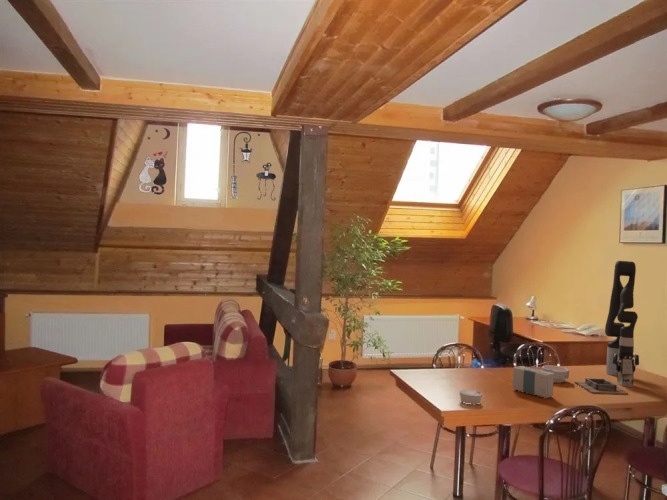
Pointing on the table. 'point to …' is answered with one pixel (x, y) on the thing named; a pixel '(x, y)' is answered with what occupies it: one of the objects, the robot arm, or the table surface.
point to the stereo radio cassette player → (533, 381)
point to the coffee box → (626, 372)
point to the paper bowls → (557, 372)
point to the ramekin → (470, 396)
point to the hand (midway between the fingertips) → (625, 371)
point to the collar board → (600, 386)
